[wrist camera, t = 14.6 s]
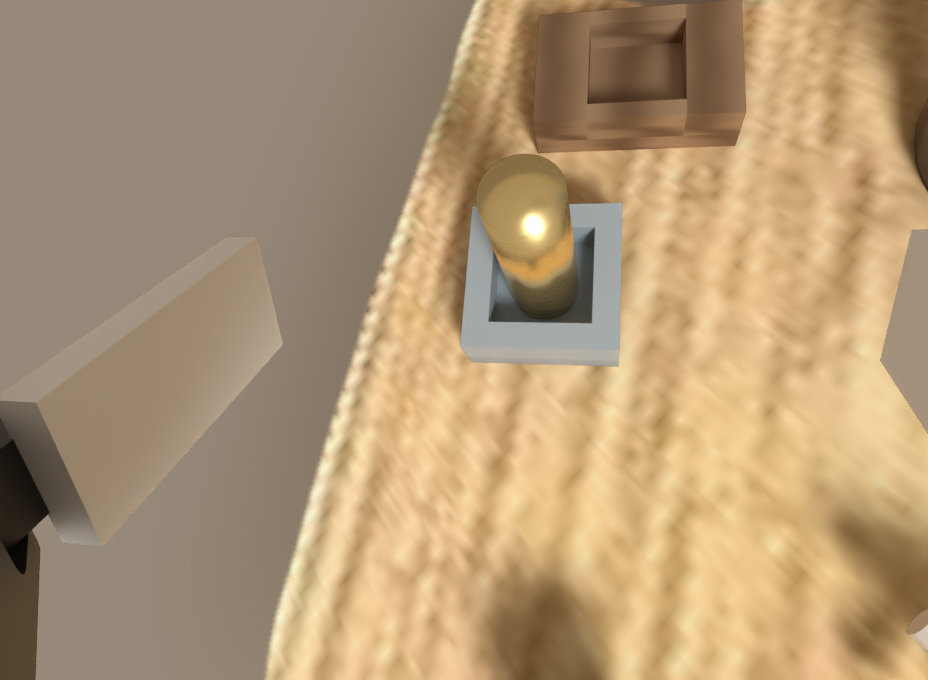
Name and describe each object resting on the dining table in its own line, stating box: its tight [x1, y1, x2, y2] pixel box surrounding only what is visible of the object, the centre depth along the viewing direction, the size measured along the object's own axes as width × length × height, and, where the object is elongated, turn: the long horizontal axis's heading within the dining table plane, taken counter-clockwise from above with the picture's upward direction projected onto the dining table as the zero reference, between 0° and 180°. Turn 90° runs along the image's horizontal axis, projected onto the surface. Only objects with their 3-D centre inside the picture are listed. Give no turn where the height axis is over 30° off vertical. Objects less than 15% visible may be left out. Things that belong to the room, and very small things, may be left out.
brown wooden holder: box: [533, 0, 746, 153], centre depth 48 cm, size 14×9×4 cm, turn 86°
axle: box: [476, 154, 579, 320], centre depth 40 cm, size 5×5×13 cm
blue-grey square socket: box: [460, 203, 622, 366], centre depth 45 cm, size 10×10×4 cm
